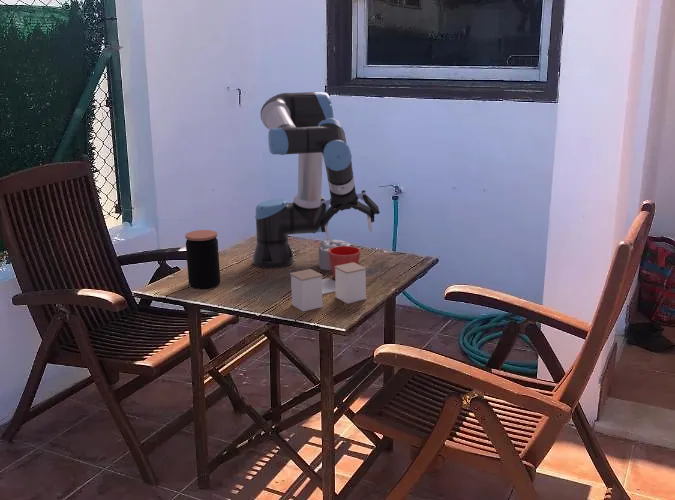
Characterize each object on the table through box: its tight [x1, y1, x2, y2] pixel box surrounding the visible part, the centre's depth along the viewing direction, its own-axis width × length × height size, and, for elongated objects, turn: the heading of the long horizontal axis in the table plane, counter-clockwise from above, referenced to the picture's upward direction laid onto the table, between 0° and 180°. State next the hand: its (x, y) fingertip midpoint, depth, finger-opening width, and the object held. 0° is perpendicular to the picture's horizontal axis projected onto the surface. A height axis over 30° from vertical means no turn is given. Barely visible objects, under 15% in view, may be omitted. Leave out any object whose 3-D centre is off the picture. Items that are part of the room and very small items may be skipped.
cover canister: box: [289, 268, 324, 312], centre depth 227 cm, size 7×7×10 cm
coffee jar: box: [184, 229, 221, 290], centre depth 246 cm, size 11×11×18 cm
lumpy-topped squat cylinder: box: [318, 239, 351, 271], centre depth 267 cm, size 10×13×9 cm
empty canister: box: [334, 262, 367, 304], centre depth 233 cm, size 7×7×10 cm
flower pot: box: [329, 245, 361, 279], centre depth 253 cm, size 11×11×10 cm
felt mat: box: [322, 277, 336, 296], centre depth 244 cm, size 12×12×1 cm
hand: (348, 232), depth 229 cm, fingers open, 13 cm apart
